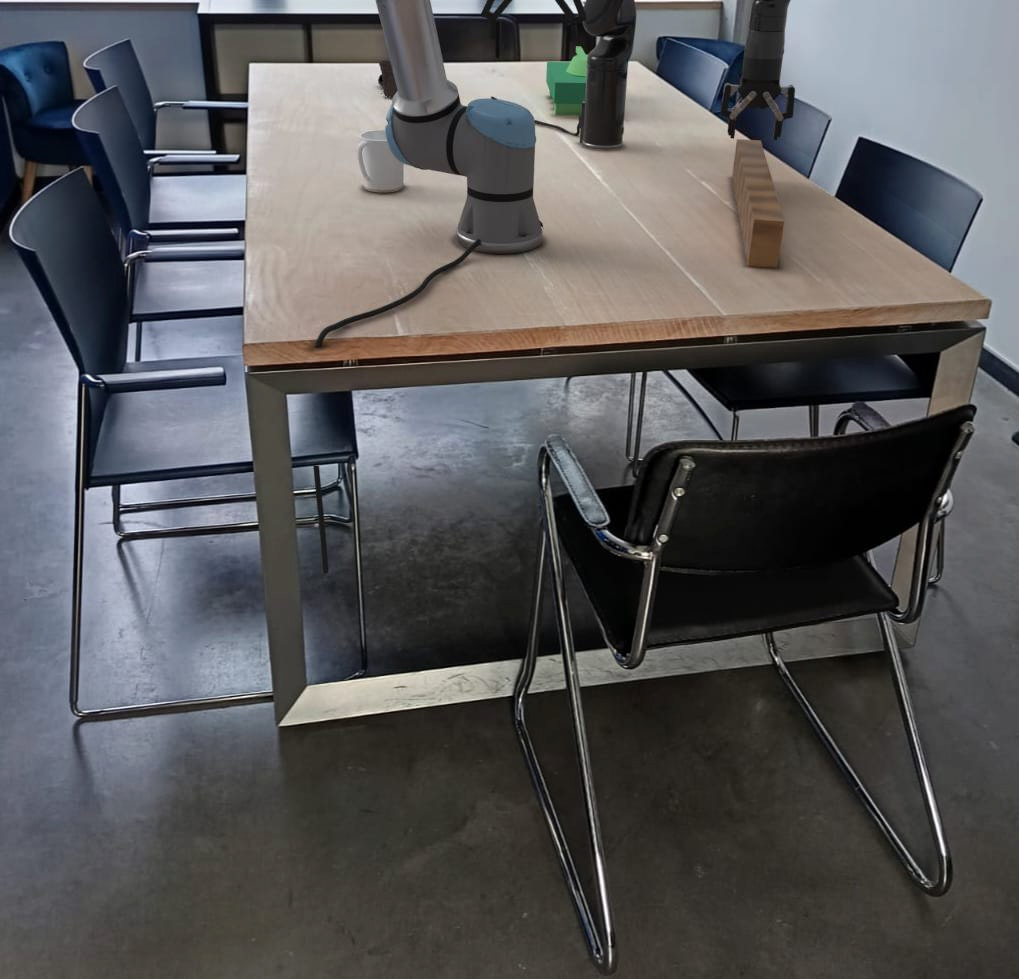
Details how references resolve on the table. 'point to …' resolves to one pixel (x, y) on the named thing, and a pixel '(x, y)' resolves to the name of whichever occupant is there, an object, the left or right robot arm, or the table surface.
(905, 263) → the table surface
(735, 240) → the table surface
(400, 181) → the mug
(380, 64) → the dark brown boot
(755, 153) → the brown wooden bar
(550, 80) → the green gift box
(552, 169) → the table surface
